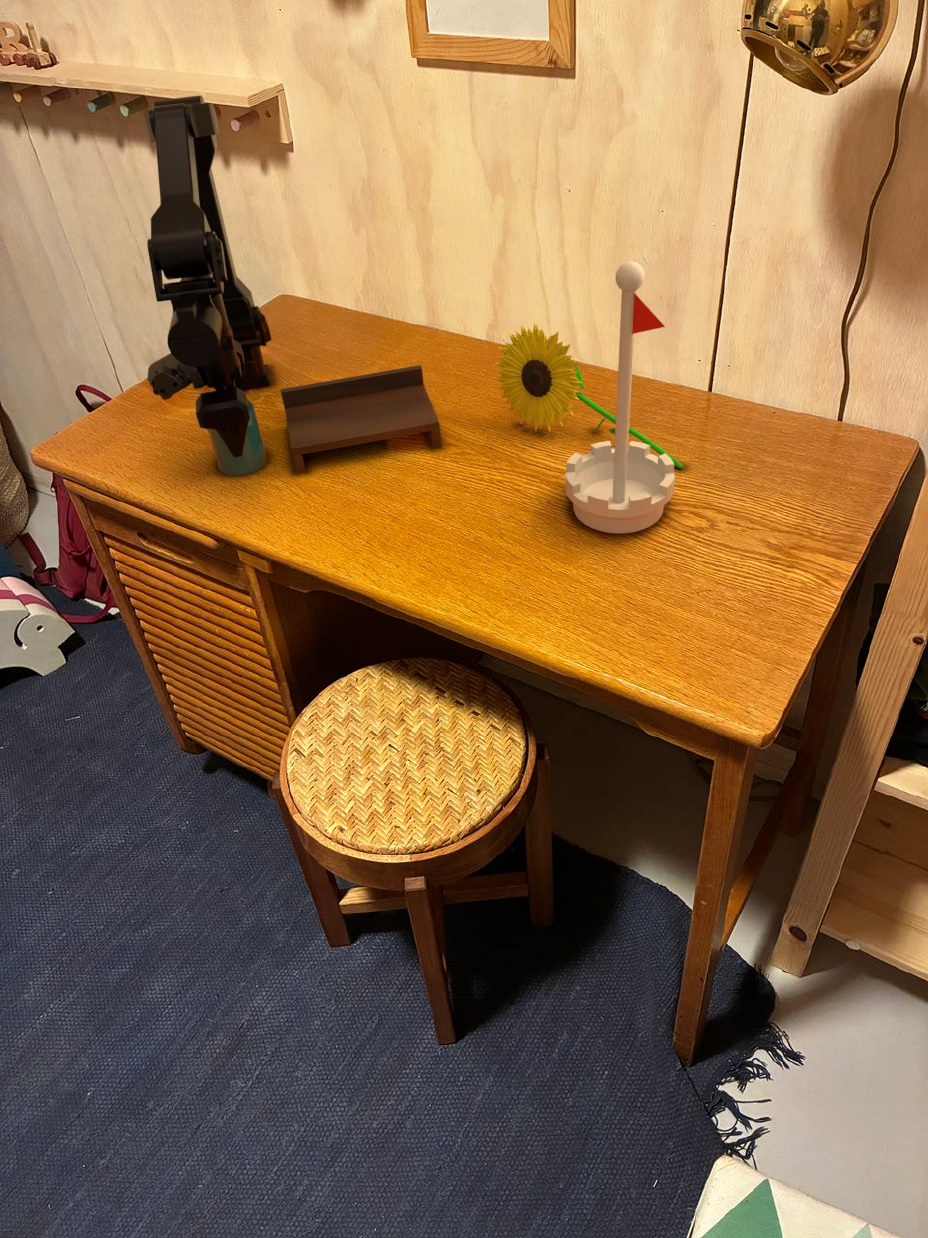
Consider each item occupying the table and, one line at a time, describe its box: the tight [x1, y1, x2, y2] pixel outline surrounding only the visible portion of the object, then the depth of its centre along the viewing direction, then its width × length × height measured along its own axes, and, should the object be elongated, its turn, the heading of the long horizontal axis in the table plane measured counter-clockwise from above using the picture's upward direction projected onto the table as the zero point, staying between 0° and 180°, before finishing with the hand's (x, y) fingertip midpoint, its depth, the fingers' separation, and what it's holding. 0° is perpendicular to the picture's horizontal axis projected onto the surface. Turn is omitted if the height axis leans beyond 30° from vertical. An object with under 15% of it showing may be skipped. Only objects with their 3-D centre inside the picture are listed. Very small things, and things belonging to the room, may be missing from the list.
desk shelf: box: [280, 364, 442, 474], centre depth 126 cm, size 12×20×6 cm, turn 103°
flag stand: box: [564, 261, 676, 534], centre depth 102 cm, size 13×13×30 cm
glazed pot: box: [206, 399, 268, 477], centre depth 124 cm, size 7×7×8 cm
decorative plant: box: [494, 322, 684, 470], centre depth 121 cm, size 15×6×30 cm
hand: (236, 438), depth 124 cm, fingers open, 9 cm apart
